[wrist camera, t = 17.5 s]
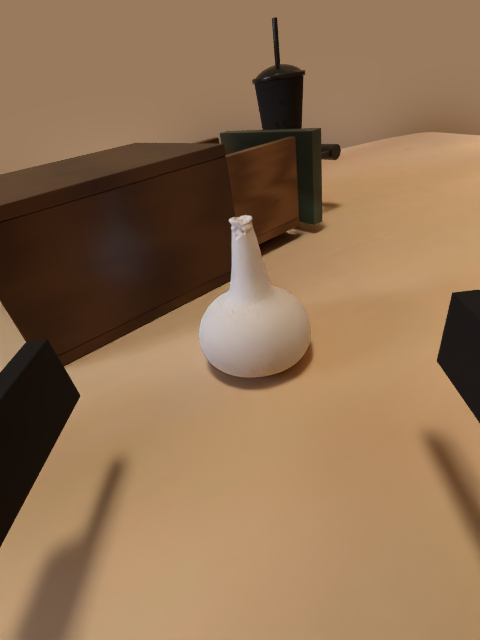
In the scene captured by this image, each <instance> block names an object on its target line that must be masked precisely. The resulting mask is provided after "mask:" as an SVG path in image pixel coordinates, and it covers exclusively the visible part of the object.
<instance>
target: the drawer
mask: <svg viewBox="0 0 480 640" xmlns="http://www.w3.org/2000/svg"><path fill="white" fill-rule="evenodd" d="M220 137H221V144H224V145H225V152H226V159H227V165H228V172H229V178H230V185H231V191H232V197H233V204H234V210H235V217H236V218H237V217H239V218H240V216H243V215H248V216H252V218H253V219H252V225H253V229H254V232H255V234H256V237H257V241H258V244H261V243H263V242H265V241H267V240H269V239H271V238H273V237H276V236H278V235H280V234H282V233H284V232H286V231H288V230H290V229H293V228H295V227H297V226H299V225H300V223H299V222H303V223H307V224H312V225H316V224H318V223H320V222H322V169H321V160H322V159H324V160H336V159H338V157H339V156H340V152H341V149H340V146H339V145H338V144H321V128H308V129H307V128H306V129H277V130H247V131H226V132H223V133H220ZM195 143H208V144H219V139H218V138H211V139H207V140H203V141H199V142H195Z"/></svg>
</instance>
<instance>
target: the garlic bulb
mask: <svg viewBox="0 0 480 640" xmlns="http://www.w3.org/2000/svg"><path fill="white" fill-rule="evenodd" d="M252 219H253V218H252V216H248V215H243V216H240V218H239V217H237V218H236V217H232V218H230V219H229V222H230V223H231V225H232V226H231V230H232V236H231V238H232V239H231V242H232V243H231V245H232V247H231V249H232V268H231V281H230V287H229V290H228V291H226V292H224V293H223V294H221V295H220V296H218V297H217V298H216V299H215V300H214V301H213V302H212V303H211V304H210V305H209V307H208V308H207V309H206V311H205V313H204V315H203V317H202V320H201V323H200V329H199V339H200V344H201V348H202V351H203V353H204V355H205V357H206V358H207V360H208V361H209V362H210V363H211V364H212V365H213V366H214V367H216V368H217V369H219V370H221V371H222V372H225V373H227V374H230V375H233V376H238V377H246V378H255V377H264V376H269V375H274V374H276V373H280V372H282V371H284V370H286V369H288V368H290V367H292V366H293V365H294V364H296V363H297V362H298V361H299V360H300V359H301V358H302V357H303V355H304V354H305V352H306V351H307V349H308V346H309V343H310V337H311V326H310V320H309V317H308V314H307V312H306V310H305V308H304V307H303V305H302V304H301V302H300V301H299V300H298V299H297V298H296V297H295V296H293V295H292V294H291V293H289V292H288V291H286V290H284V289H282V288H279V287H276V286H272V284H271V282H270V280H269V277H268V275H267V272H266V269H265V266H264V263H263V259H262V255H261V251H260V248H259V244H258V241H257V237H256V234H255V232H254V229H253V225H252Z"/></svg>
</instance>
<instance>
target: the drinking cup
mask: <svg viewBox="0 0 480 640" xmlns="http://www.w3.org/2000/svg"><path fill="white" fill-rule="evenodd" d="M272 26H273V39H274V54H275V66H272V67H269V68H267V69H266V70H264V71H262V72H261V73H260V74H259V75H258V76H257V77H256V79H253V80H252V82H253V84H255V89H256V94H257V100H258V106H259V111H260V117H261V122H262V128H263V130H277V129H301V126H302V98H303V75H305V70H301V69H299V68H297V67H295V66H292V65H287V64H280V57H279V41H278V28H277V27H278V26H277V18H272Z"/></svg>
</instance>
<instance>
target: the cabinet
mask: <svg viewBox="0 0 480 640" xmlns="http://www.w3.org/2000/svg"><path fill="white" fill-rule="evenodd" d="M232 217H235V210H234V204H233V197H232V191H231V185H230V178H229V172H228V165H227V159H226V152H225V145H224V144H208V143H134V144H130V145H125V146H121V147H117V148H112V149H108V150H104V151H100V152H95V153H91V154H87V155H82V156H78V157H74V158H70V159H65V160H61V161H57V162H53V163H48V164H44V165H40V166H36V167H31V168H27V169H23V170H19V171H15V172H10V173H6V174H2V175H0V301H1V303H2V304H3V306H4V307H5V309H6V311H7V312H8V314H9V315H10V317H11V319H12V320H13V322H14V323H15V325H16V327H17V328H18V330H19V331H20V333H21V335H22V336H23V338H24V339H25V341H26V342H28V341H37V340H45V339H48V341H49V342H50V344H51V346H52V347H53V349H54V351H55V353H56V354H57V356H58V358H59V360H60V361H61V363H62V365H63V366H64V365H66V364H68V363H70V362H72V361H74V360H76V359H78V358H79V357H81V356H83V355H85V354H87V353H89V352H91V351H93V350H95V349H97V348H99V347H101V346H103V345H105V344H107V343H109V342H111V341H113V340H115V339H117V338H119V337H121V336H123V335H125V334H126V333H128V332H130V331H132V330H134V329H136V328H138V327H140V326H142V325H144V324H146V323H148V322H150V321H152V320H154V319H156V318H158V317H160V316H162V315H164V314H166V313H168V312H170V311H171V310H173V309H175V308H177V307H179V306H181V305H183V304H185V303H187V302H189V301H191V300H193V299H195V298H197V297H199V296H201V295H203V294H205V293H207V292H209V291H211V290H213V289H215V288H217V287H218V286H220V285H222V284H224V283H226V282H228V281H230V280H231V268H232V249H231V247H232V245H231V243H232V242H231V239H232V238H231V236H232V230H231V226H232V225H231V223H230V222H229V219H230V218H232Z"/></svg>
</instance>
